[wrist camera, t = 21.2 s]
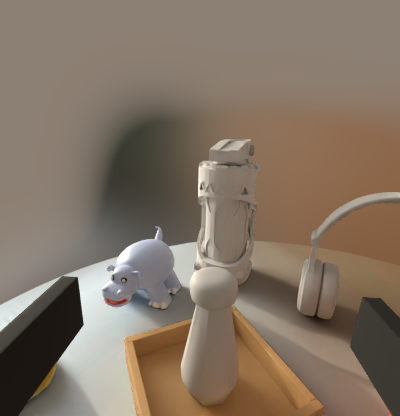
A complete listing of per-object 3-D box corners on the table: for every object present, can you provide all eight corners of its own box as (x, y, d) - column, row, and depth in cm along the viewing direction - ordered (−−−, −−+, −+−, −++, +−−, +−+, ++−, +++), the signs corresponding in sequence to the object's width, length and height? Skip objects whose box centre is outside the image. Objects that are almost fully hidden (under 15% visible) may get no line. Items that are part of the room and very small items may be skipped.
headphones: (453, 334, 35) (502, 198, 29) (485, 385, 27) (560, 217, 22) (299, 292, 43) (316, 181, 38) (293, 323, 36) (313, 191, 30)
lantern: (244, 293, 42) (257, 140, 35) (188, 280, 46) (189, 138, 39) (256, 260, 54) (267, 140, 47) (210, 251, 58) (214, 138, 51)
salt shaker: (176, 413, 23) (175, 291, 20) (184, 360, 29) (185, 257, 25) (239, 419, 23) (251, 296, 19) (235, 364, 28) (243, 260, 25)
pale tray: (126, 360, 29) (124, 337, 28) (232, 325, 35) (234, 305, 34) (160, 534, 17) (159, 503, 16) (318, 433, 23) (324, 406, 22)
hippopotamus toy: (81, 318, 36) (73, 258, 33) (137, 268, 50) (134, 222, 47) (148, 337, 33) (145, 272, 30) (188, 278, 47) (188, 230, 44)
